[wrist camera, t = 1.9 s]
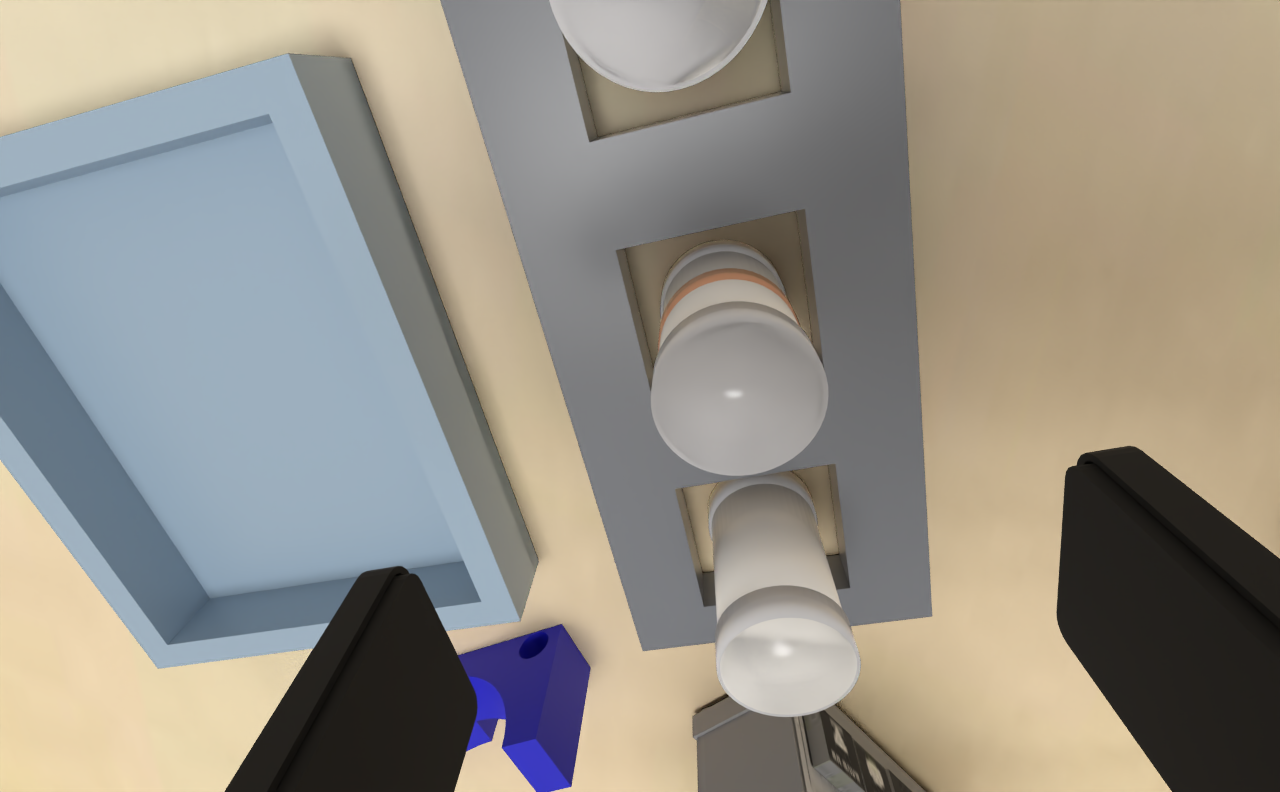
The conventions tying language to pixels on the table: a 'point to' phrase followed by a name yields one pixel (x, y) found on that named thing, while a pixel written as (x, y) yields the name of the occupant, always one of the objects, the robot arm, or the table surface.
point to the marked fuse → (733, 364)
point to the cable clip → (532, 702)
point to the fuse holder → (702, 200)
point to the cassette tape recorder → (790, 753)
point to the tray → (242, 368)
